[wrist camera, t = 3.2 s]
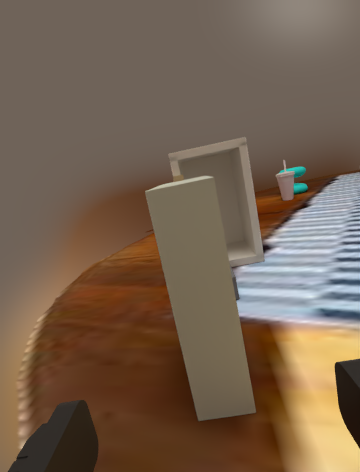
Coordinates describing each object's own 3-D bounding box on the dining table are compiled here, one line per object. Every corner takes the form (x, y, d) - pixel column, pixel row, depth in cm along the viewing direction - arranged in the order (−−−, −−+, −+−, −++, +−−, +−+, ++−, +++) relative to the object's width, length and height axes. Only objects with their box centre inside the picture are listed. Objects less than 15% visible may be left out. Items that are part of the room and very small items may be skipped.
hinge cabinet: (249, 243, 59) (233, 144, 54) (289, 290, 35) (266, 123, 31) (184, 255, 60) (164, 159, 56) (181, 309, 36) (145, 150, 32)
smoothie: (301, 196, 103) (296, 157, 100) (291, 200, 99) (286, 160, 96) (284, 198, 108) (280, 161, 105) (275, 201, 104) (270, 163, 101)
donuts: (274, 172, 113) (284, 169, 121) (278, 196, 115) (287, 192, 123) (300, 167, 107) (308, 164, 114) (303, 194, 109) (311, 189, 116)
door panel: (234, 332, 29) (204, 175, 26) (256, 412, 19) (213, 177, 16) (195, 338, 29) (162, 184, 26) (198, 421, 20) (144, 191, 16)
